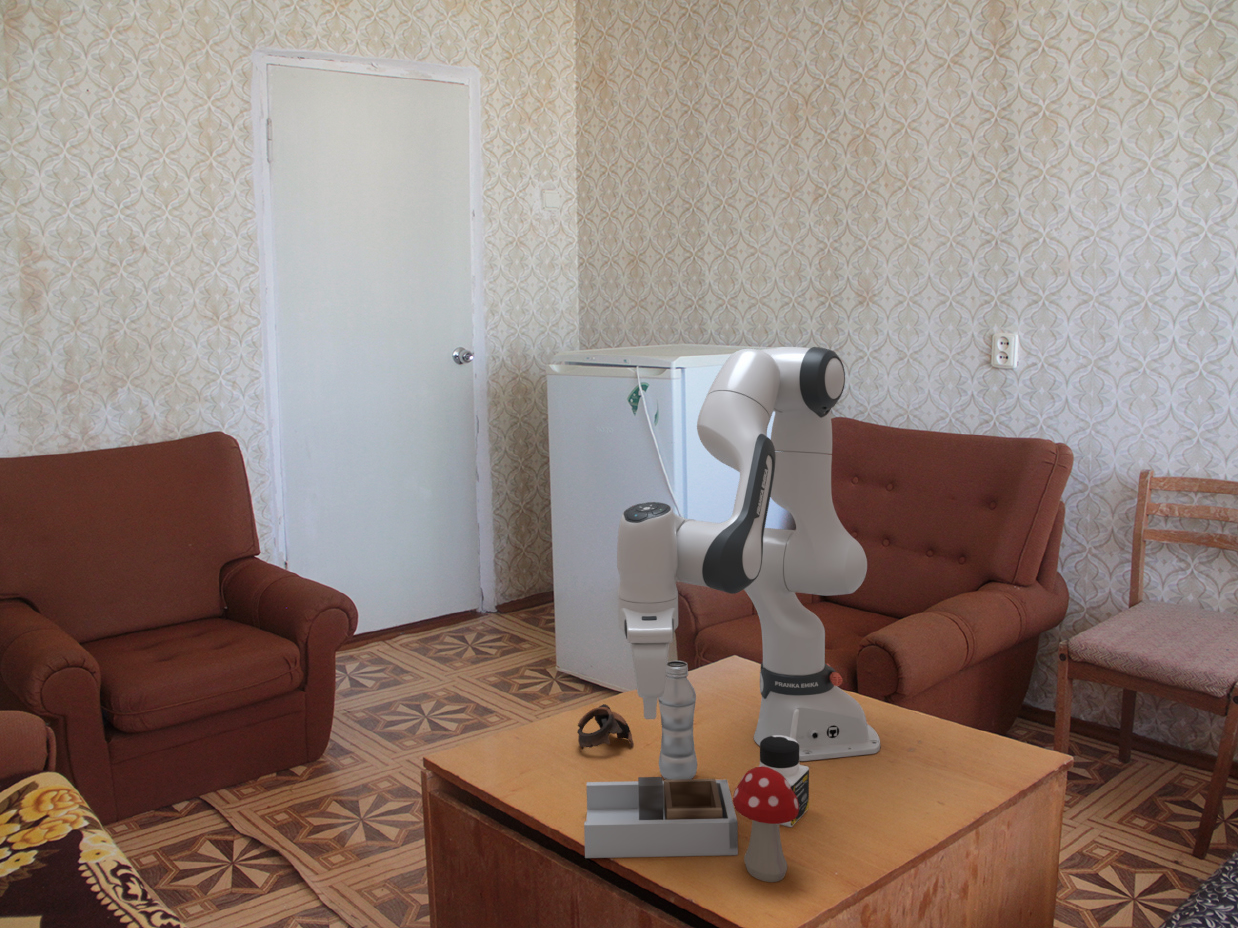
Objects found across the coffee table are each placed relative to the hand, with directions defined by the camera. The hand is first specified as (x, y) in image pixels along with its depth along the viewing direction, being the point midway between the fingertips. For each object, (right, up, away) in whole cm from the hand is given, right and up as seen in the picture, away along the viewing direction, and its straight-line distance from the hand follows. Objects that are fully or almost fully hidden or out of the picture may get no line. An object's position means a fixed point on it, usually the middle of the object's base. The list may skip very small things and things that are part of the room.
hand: (648, 705), depth 153 cm
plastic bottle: (+5, -17, +21) cm, 28 cm away
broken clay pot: (-7, -16, +36) cm, 40 cm away
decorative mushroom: (+16, -21, -9) cm, 28 cm away
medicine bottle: (+21, -19, +8) cm, 29 cm away
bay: (+2, -20, +3) cm, 20 cm away
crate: (+5, -19, +3) cm, 19 cm away
